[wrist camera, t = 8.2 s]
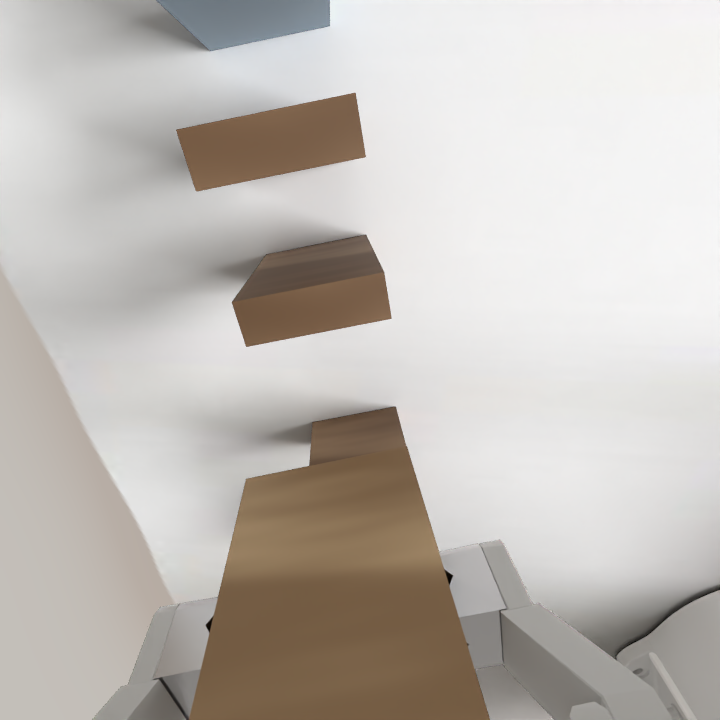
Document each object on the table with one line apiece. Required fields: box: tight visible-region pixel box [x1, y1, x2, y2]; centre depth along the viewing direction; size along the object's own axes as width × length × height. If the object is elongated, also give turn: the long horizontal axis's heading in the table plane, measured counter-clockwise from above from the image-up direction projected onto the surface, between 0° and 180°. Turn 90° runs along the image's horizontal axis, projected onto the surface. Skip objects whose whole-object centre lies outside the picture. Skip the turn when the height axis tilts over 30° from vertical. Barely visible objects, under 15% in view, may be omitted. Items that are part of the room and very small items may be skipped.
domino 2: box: [309, 407, 406, 466], centre depth 22 cm, size 2×5×8 cm, turn 100°
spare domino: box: [189, 446, 490, 720], centre depth 10 cm, size 2×5×8 cm, turn 100°
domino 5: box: [176, 93, 366, 191], centre depth 16 cm, size 2×5×8 cm, turn 100°
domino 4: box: [232, 235, 392, 347], centre depth 18 cm, size 2×5×8 cm, turn 100°
